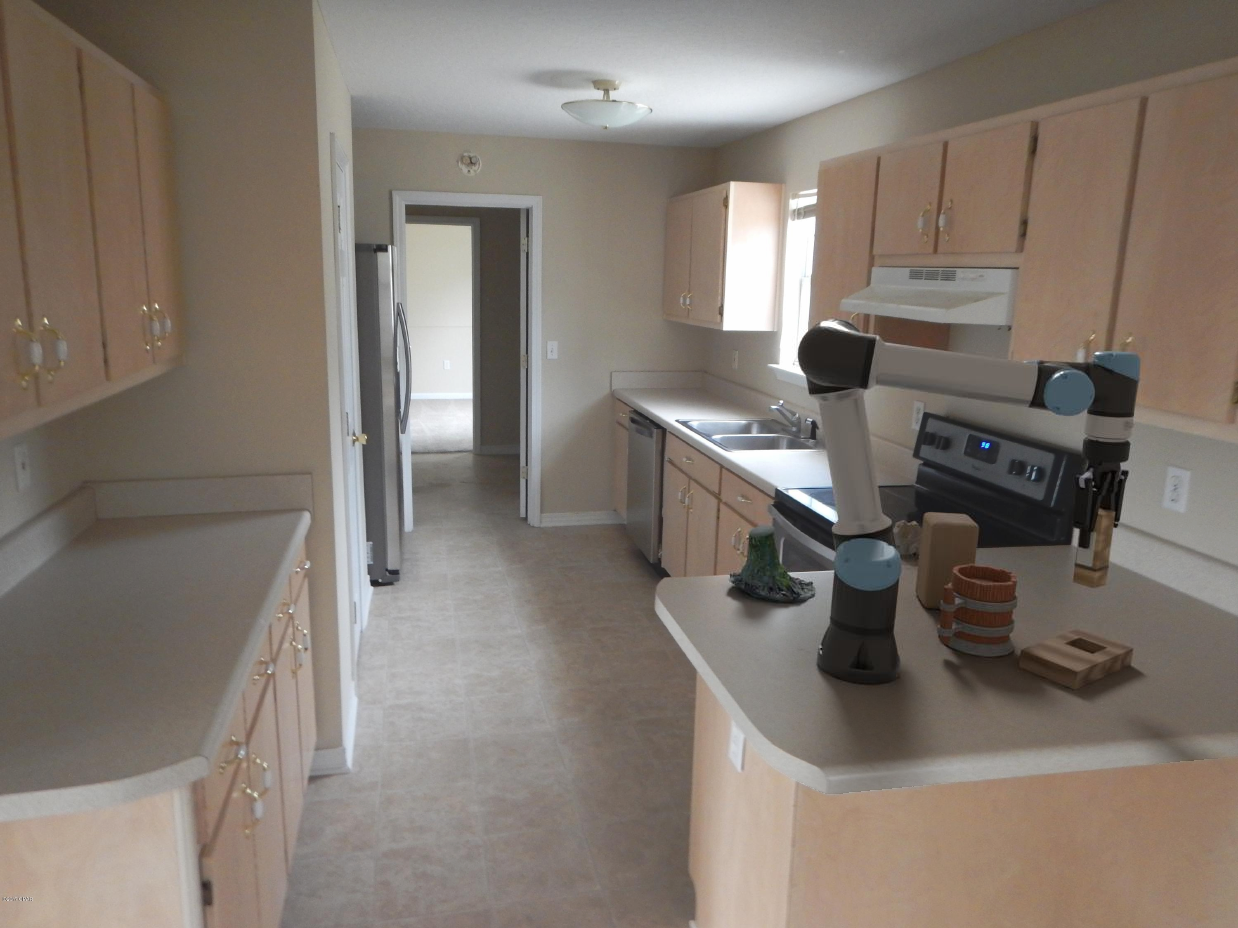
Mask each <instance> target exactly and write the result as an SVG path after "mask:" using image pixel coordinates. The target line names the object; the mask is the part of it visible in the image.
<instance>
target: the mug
mask: <svg viewBox="0 0 1238 928" xmlns="http://www.w3.org/2000/svg"><path fill="white" fill-rule="evenodd" d="M1017 583H1018V578H1017V575H1016V574H1013V573H1012V571H1010V570H1009V569H1005V568H1002V567H1001V568H998V567H993V566H992V565H986V564H985V565H982V564H975V565H974V564H968V565H961V566H956V567H954V568H953V572H952V581H951V583H950V584H949V585H945V586H944V593H943V594H944V596H943V600H942V601H941V604H940V608H941V609H940V613H941V615H940V621H939V624H938V625H937V630H936V633H937V634H938V635H937V637H938V639H939V642H940V644H942V645H946V646H948V647H949V648H950V649H953V650H954V651H957V652H960V653H963V654H967V655H969V656H970V655H971V656H973V657H974V656H976V657H981V658H997V657H998V658H999V657H1003V656H1006V655H1008V654H1010V653H1012V652H1013V650H1014V649H1015V647H1014V644H1013V640H1012V639H1011V637H1010V636H1011V634H1012V633H1013V632H1014V629H1015V622H1016V621H1015V619H1014V617H1013V615H1014V610H1015V609H1016V608H1017V606H1018V602H1019V601H1018V599H1019V596H1018V594H1017V593H1016V591H1017V585H1018V584H1017Z"/></svg>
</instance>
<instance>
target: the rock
mask: <svg viewBox="0 0 1238 928" xmlns="http://www.w3.org/2000/svg"><path fill="white" fill-rule="evenodd" d="M894 525H895V526H893V532H894V538H895V543H896V546H897V548H898V552H899V554H900V557H901V558H903V557H905V556H907V555H911V554H912V555H913V556H914V557H916V558H919V553H920V544H921V534H922V527H921V526H920V524H919V523H918V522H917V521H916V520H913V521H911V522H907V521H906V520H900V521H897V522H896V523H894Z"/></svg>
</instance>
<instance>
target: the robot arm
mask: <svg viewBox="0 0 1238 928" xmlns="http://www.w3.org/2000/svg"><path fill="white" fill-rule="evenodd" d="M797 363H798V366H799V367H800V370H801V372H802V373H803V375H805V380H806V384H807V385H806V386H807V391H808V396H810V397H811V398H812V399H814V400H815V401H816V402H817V403H818V408H819V413H820V420H821V426H822V431H823V438H824V443H825V450H826V455H827V462H828V467H829V473H830V474H829V475H830V478H831V479H830V480H831V485H832V491H833V499H834V505H835V509H836V510H835V511H836V515H837V521H836V522H835V523H834V524H833V526H832V527H831V532H832V538H833V539H832V540H833V543H834V551H835V556H834V558H833V568H834V569H833V581H832V582H833V583H832V593H831V602H830V603H831V604H830V605H831V606H830V617H829V624H828V626H827V628H826V631H825V633H824V635H823V637H822V639H821V643H819V646H818V649H817V655H816V663H817V665H818V667H819V668H820V669H821V670H822V671H824V672H825V673H826V674H827V675H829V676H833V677H835V678H837V679H840V680H843V681H847V682H851V683H857V684H867V685H873V684H875V685H878V684H884V683H889V682H891V681H894V680H896V679H897V678H898V677H899V676H900V673H901V671H900V670H901V657H900V654H899V652H898V646H897V642H896V641H897V640H896V638H895V623H896V622H895V621H896V614H897V604H898V594H899V587H900V586H899V585H900V577H901V574H902V559H901V558H902V557H900V554H899V552H898V548H897V546H896V543H895V538H894V532H893V529H894V526H893V521H892V519H891V518H889V517H888V516H886V515H885V514H884V513H883V509H882V503H881V496H880V491H879V490H880V489H879V484H878V478H877V472H876V465H875V459H874V454H873V447H872V440H871V434H870V427H869V423H868V422H869V421H868V415H867V409H866V404H865V397H864V395H865V393H866V391H867V390H868V391H869V390H871V389H873V388H874V387H876V386H881V387H888V388H893V389H900V390H907V391H915V392H921V393H928V394H935V395H940V396H949V397H957V398H962V399H968V400H975V401H982V402H983V401H984V402H990V403H995V404H1002V405H1003V404H1004V405H1010V406H1014V407H1015V406H1017V407H1021V408H1022V407H1023V408H1029V409H1033V410H1041V411H1046V412H1052V413H1054V414H1055V415H1058V416H1063V417H1074V416H1077V415H1079V414H1082V413H1084V412H1085V411H1086V416H1085V421H1084V422H1085V423H1084V429H1083V434H1084V435H1085V436H1086V437H1084V438H1083V440H1082V447H1081V457H1082V458H1083V459H1085V460H1087V465H1086V467H1085V473H1083V475H1079V474H1077V475H1076V476H1075V477H1074V479H1075V481H1074V482H1075V497H1074V506H1073V516H1072V528H1074V529H1077V530H1078V531H1079V530H1080V534H1079V533H1078V536H1079V543H1078V542H1077V544H1078V551H1077V550H1076V552H1077V559H1076V558H1075V560H1076V563H1079V564H1082V565H1086V566H1089V567H1091V566H1092V565H1093V557H1094V549H1095V541H1096V533H1097V532H1095V531H1094V528H1095V524H1096V520H1097V516H1098V511H1099V508H1101V509H1105V510H1110V511H1114V512H1115V519H1114V526H1113V529H1118V527H1119V522H1120V521H1121V516H1122V508H1123V502H1124V496H1125V489H1126V483H1127V480H1128V478H1129V477H1128V476H1129V474H1130V470H1128V469H1124V468H1123V469H1122V467H1121V463H1122V464H1123V463H1126V462H1128V461H1129V459H1130V453H1131V451H1130V450H1131V442H1130V440H1128V439H1130V438H1132V434H1133V428H1134V427H1135V423H1134V419H1135V417H1134V416H1135V409H1136V403H1137V402H1136V401H1137V395H1138V392H1139V391H1138V390H1139V389H1138V388H1139V383H1140V381H1141V379H1140V374H1141V373H1140V372H1141V358H1140V356H1139V354H1136V353H1134V352H1131V351H1130V352H1129V351H1116V350H1107V351H1105V350H1099V351H1096V352H1095V353H1094V354H1093V356H1092V359H1091V361H1086V362H1084V361H1083V362H1081V361H1080V362H1078V361H1077V362H1076V361H1075V362H1074V361H1060V360H1059V361H1058V360H1057V361H1056V360H1055V361H1054V360H1043V359H1038V360H1025V361H1019V360H1014V359H1013V360H1011V359H1004V358H999V357H993V356H984V355H978V354H969V353H963V352H956V351H949V350H948V351H947V350H940V349H936V348H935V349H933V348H926V347H919V346H912V345H905V344H897V343H891V342H885V341H884V340H883V339H882V337H881V336H880V335H877V334H868V333H864V332H861V331H860V329H859V328H858V327H856V326H855V325H854V324H853V323H851V322H849V321H848V320H844V319H838V318H834V319H832V318H831V319H826V320H823V321H819V322H817V323H816V324H815V325H813V326H812V327H811V328H810V329H808V331H806V332H805V334H804V335H803V337H802V338H801V340H800V341H799V345H798V347H797Z"/></svg>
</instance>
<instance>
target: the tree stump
mask: <svg viewBox="0 0 1238 928" xmlns="http://www.w3.org/2000/svg"><path fill="white" fill-rule="evenodd" d="M747 546H748V547H747V555H746V561H745V564H744V565H743V567H742V568H741V570H740V572H733V573H729V578H728V581H729V582H730V583H731V584H732V585H734V586H736V587H737V588H740V589H742V590H743V591H744V592H745V593H747V594H749V595H750V596H751V597H753V598H754V599H758V600H763V601H764V600H765V601H770V602H776V603H782V604H784V603H787V604H788V603H789V604H792V603H798V602H805V601H807V600H808V599H812V598H814V597H815V593H816V587H814V586H813V584H814V581H812V580H811V581H806V580H804V579H801V578H799V577H794V576H791V575H790V573H788V571H787V568H786V567H785V566H784V565H783V564H782V563H781V561H780V556H779V552H778V547H777V542H776V528H775V526H772V525H768V524H767V525H759V526H756V527H753V528H752V529H750V531H748V545H747Z"/></svg>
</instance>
